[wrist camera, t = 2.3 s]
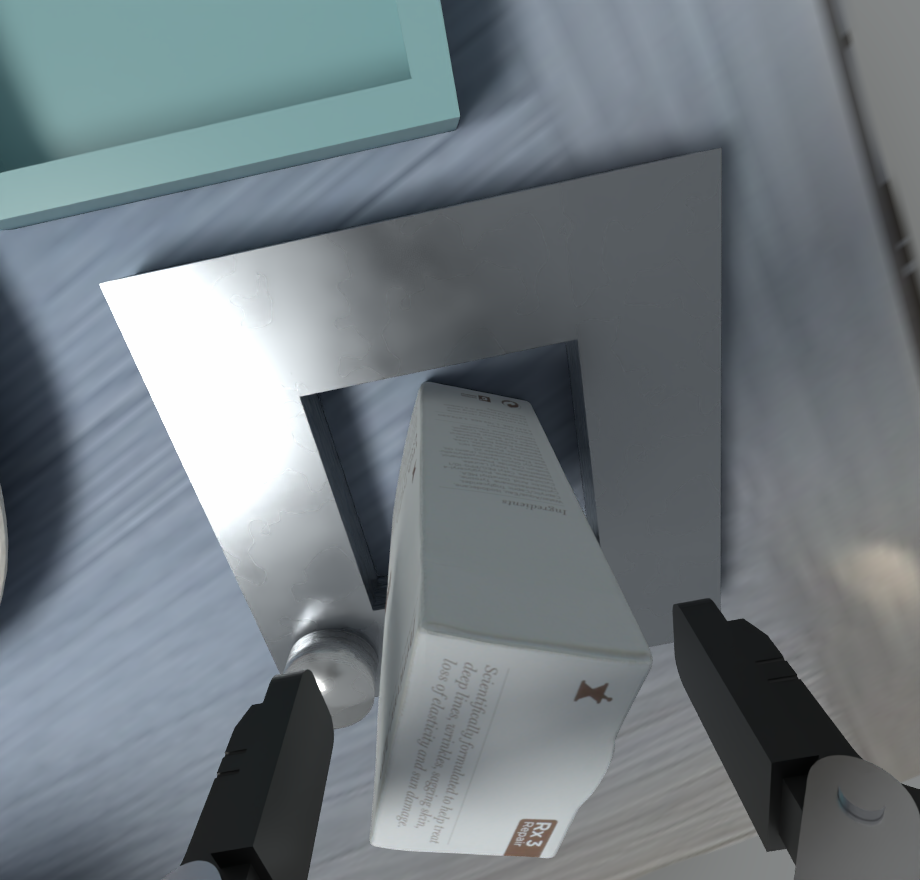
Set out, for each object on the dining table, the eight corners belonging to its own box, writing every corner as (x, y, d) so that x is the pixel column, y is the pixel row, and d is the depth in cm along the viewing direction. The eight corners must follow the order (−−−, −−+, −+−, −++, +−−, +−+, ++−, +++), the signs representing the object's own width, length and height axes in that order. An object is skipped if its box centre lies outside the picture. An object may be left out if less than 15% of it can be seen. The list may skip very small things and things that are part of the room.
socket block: (307, 673, 25) (288, 745, 22) (133, 274, 17) (64, 292, 14) (698, 600, 24) (740, 664, 21) (690, 153, 17) (752, 142, 13)
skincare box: (417, 376, 19) (397, 616, 8) (538, 399, 20) (670, 653, 9) (390, 521, 22) (346, 856, 11) (498, 537, 22) (562, 872, 11)
